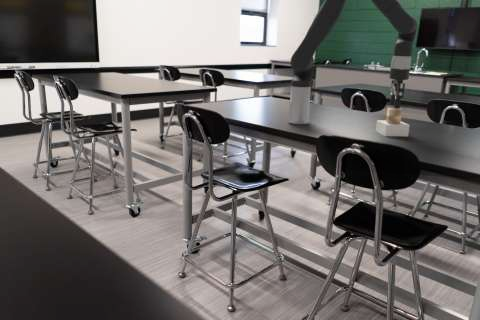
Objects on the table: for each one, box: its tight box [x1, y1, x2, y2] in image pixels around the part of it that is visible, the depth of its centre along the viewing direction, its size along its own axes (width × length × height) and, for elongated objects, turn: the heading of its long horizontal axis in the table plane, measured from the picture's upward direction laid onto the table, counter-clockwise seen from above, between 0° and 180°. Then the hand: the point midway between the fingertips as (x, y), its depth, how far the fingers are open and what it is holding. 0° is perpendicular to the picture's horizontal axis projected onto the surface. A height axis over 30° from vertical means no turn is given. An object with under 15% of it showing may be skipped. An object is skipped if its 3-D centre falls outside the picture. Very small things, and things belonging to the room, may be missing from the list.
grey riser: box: [375, 119, 410, 137], centre depth 172 cm, size 10×10×5 cm
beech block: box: [385, 107, 403, 124], centre depth 170 cm, size 5×5×6 cm
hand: (394, 106), depth 169 cm, fingers open, 8 cm apart
